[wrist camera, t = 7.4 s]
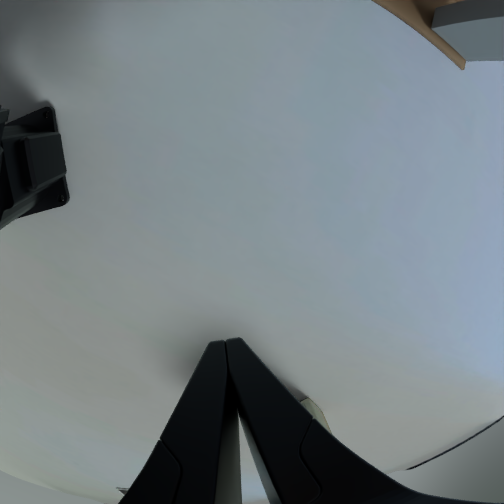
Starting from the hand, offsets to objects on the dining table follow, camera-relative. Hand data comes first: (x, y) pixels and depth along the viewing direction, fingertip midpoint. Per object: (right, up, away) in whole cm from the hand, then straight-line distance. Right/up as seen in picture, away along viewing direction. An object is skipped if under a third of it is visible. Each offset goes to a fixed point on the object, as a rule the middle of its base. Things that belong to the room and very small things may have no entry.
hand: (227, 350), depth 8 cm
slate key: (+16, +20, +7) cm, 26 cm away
